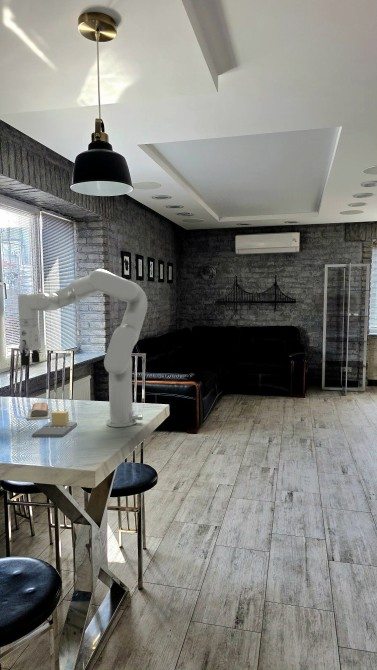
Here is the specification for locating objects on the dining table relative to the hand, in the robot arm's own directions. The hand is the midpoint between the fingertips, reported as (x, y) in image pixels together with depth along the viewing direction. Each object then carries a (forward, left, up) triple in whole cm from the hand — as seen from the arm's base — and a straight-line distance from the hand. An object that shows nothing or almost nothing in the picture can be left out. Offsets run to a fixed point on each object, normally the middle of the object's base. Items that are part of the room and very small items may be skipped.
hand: (30, 364), depth 185 cm
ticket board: (-13, +13, -26) cm, 32 cm away
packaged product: (+4, -16, -27) cm, 32 cm away
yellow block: (-13, +4, -26) cm, 30 cm away
